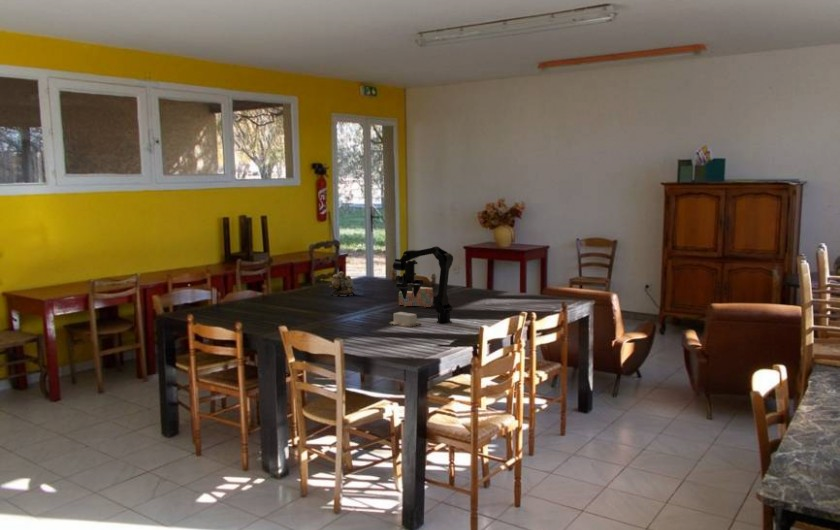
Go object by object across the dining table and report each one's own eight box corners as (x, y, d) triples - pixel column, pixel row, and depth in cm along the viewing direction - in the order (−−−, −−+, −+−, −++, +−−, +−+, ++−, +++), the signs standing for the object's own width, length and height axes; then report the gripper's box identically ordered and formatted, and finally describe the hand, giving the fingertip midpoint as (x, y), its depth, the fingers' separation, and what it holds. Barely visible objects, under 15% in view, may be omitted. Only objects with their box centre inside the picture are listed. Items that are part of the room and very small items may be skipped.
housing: (416, 323, 400) (416, 314, 400) (409, 324, 396) (409, 316, 395) (400, 320, 408) (400, 311, 407) (393, 322, 403) (393, 313, 403)
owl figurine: (330, 297, 493) (329, 273, 491) (328, 294, 505) (327, 271, 503) (356, 296, 498) (355, 271, 496) (353, 293, 509) (352, 269, 507)
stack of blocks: (398, 306, 458) (398, 287, 457) (401, 304, 464) (401, 286, 463) (430, 307, 452) (430, 288, 451) (433, 306, 458) (433, 287, 457)
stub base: (420, 324, 401) (420, 317, 400) (409, 327, 393) (409, 320, 393) (400, 321, 410) (400, 314, 410) (389, 324, 403) (389, 317, 402)
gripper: (409, 268, 429) (409, 294, 431) (388, 272, 415) (389, 298, 417) (423, 270, 422) (423, 296, 424) (403, 273, 408) (403, 300, 410)
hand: (409, 297), depth 419 cm, fingers open, 9 cm apart
